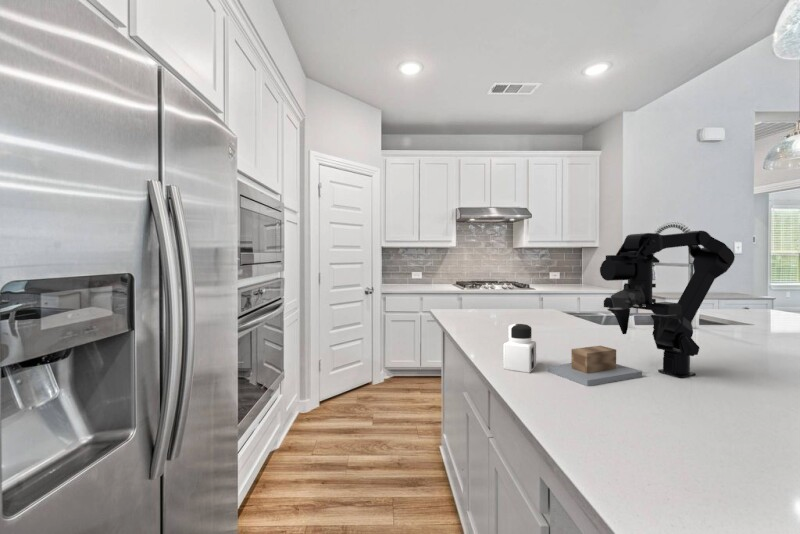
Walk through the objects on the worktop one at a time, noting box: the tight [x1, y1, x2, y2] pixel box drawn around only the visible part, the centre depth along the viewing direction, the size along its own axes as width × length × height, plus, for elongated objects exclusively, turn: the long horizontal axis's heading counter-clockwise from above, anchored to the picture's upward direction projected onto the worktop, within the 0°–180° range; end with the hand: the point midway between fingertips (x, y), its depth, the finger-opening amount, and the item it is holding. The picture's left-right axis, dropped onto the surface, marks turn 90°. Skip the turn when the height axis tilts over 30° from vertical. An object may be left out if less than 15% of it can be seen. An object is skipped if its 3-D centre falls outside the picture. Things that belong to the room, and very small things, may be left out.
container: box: [502, 323, 537, 374], centre depth 116 cm, size 8×8×13 cm
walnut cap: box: [571, 345, 617, 374], centre depth 109 cm, size 11×5×6 cm, turn 112°
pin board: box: [547, 362, 643, 387], centre depth 109 cm, size 20×14×5 cm
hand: (639, 337), depth 106 cm, fingers open, 9 cm apart
